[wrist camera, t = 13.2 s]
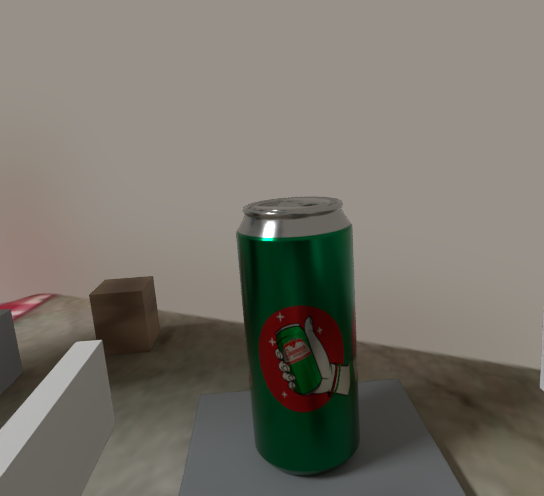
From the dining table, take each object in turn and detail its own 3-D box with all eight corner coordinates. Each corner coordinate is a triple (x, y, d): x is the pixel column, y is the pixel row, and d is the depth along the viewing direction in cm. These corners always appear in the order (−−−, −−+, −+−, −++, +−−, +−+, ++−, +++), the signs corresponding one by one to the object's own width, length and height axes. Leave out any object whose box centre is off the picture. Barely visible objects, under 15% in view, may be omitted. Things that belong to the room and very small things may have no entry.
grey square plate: (167, 576, 19) (165, 558, 19) (202, 406, 30) (200, 394, 30) (486, 549, 19) (486, 531, 19) (398, 390, 31) (398, 378, 30)
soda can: (296, 409, 28) (281, 194, 25) (379, 438, 25) (372, 196, 22) (234, 458, 24) (209, 210, 21) (323, 499, 21) (306, 215, 18)
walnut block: (99, 355, 39) (89, 294, 38) (113, 335, 43) (105, 279, 42) (150, 351, 39) (141, 290, 38) (160, 332, 43) (152, 276, 42)
